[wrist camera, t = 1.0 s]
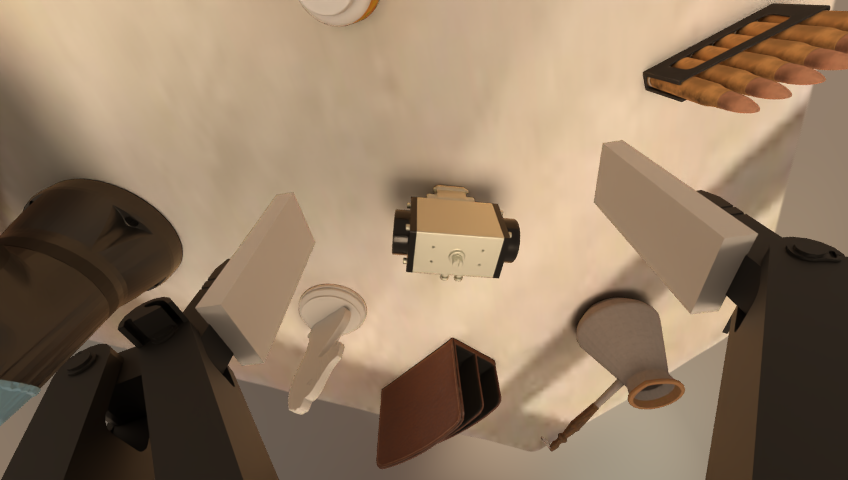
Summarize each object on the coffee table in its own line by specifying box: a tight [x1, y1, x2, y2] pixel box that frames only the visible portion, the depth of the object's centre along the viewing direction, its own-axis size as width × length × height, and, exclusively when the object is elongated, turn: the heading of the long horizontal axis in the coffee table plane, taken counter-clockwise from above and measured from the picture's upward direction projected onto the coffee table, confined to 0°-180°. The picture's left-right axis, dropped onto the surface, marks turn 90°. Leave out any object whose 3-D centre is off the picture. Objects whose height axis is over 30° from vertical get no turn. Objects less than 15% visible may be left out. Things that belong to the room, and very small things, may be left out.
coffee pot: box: [541, 298, 685, 451], centre depth 47 cm, size 21×12×15 cm, turn 130°
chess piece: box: [288, 284, 367, 414], centre depth 44 cm, size 10×10×15 cm
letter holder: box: [376, 338, 501, 469], centre depth 54 cm, size 10×20×14 cm, turn 140°
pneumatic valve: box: [392, 185, 520, 282], centre depth 34 cm, size 6×12×12 cm, turn 84°
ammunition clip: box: [643, 4, 848, 113], centre depth 26 cm, size 11×2×12 cm, turn 120°
